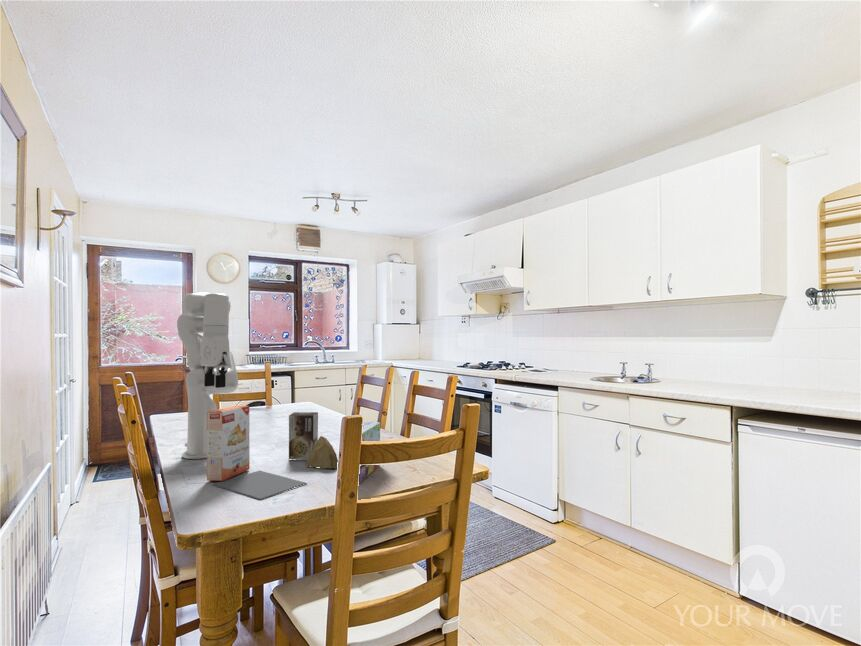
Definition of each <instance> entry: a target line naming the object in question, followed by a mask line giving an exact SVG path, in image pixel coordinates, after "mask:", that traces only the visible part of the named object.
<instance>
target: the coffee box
mask: <svg viewBox="0 0 861 646" xmlns="http://www.w3.org/2000/svg"><path fill="white" fill-rule="evenodd" d="M318 427H319V412H318V411H316V412H315V411H314V412H313V411H312V412H311V411H309V412H308V411H307V412H305V411H304V412H303V411H302V412H299V411H298V412H296V411H295V412H292V413H290V415H288V460H289V459H302V460H301V461H307V460H308V457H309V455H310V454H311V452H312V450H313V448H314V446H315V444H316V442H317V441H318V439H319V428H318Z"/></svg>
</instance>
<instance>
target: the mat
mask: <svg viewBox="0 0 861 646" xmlns="http://www.w3.org/2000/svg"><path fill="white" fill-rule="evenodd" d="M306 483H307V482H305V481H301V480H297V479H293V478H290V477H285V476H282V475H278V474H275V473H270V472H267V471H263V470H257V471H253V472H249V473H246V474H242V475H238V476H236V477H231V478H228V479H226V480H224V481H216V482H215V483H212V486H215V487H217V486H218V487H217V488H220V487H221V489H224V490H227V491H230V492H232V493H237V494H240V495H242V494H243V496H246V497H248V498H249V497H250V498H252V499H255V498H256V499H255V500H258V499H259V500H258V501H263V500H265V499H268V498H271V497H274V496H276V494H277V495H280V494H282V493H281V492H283V491H286V490H288V491H290V490H289V489H291V490H293V489H292V488H294V487H297V486H300V485H303V484H306ZM306 485H307V484H306ZM303 486H304V485H303ZM300 487H301V486H300ZM297 488H298V487H297ZM294 489H295V488H294ZM286 492H287V491H286ZM279 493H280V494H279ZM283 493H284V492H283ZM273 495H274V496H273ZM270 496H271V497H270ZM267 497H268V498H267ZM264 498H265V499H264Z"/></svg>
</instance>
